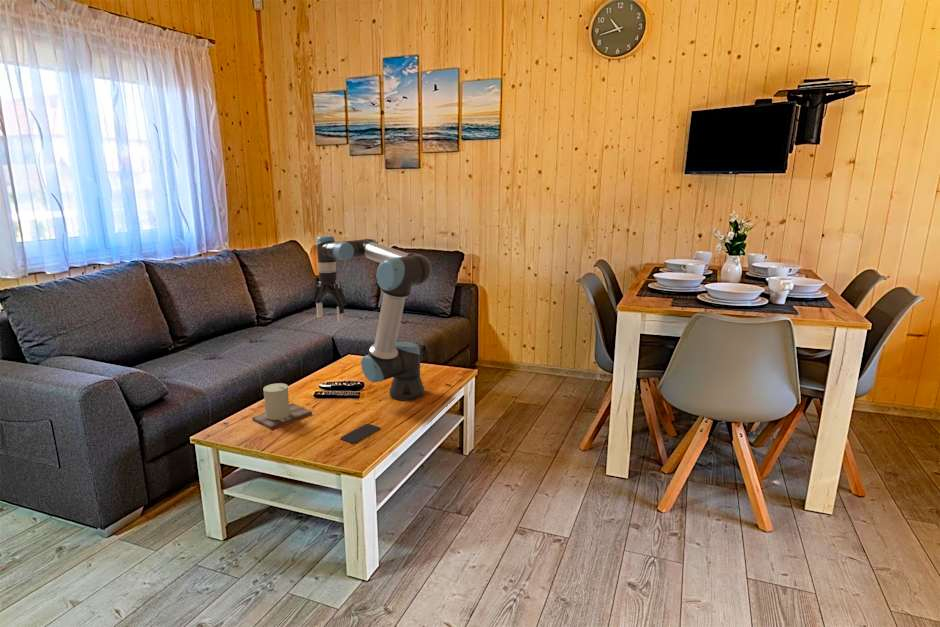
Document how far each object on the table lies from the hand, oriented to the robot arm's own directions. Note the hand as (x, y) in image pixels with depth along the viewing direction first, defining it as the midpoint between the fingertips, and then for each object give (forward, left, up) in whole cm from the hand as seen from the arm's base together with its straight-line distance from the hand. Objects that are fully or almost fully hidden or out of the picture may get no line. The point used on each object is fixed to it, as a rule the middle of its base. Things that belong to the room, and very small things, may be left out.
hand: (330, 319), depth 248 cm
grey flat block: (-15, +36, -30) cm, 49 cm away
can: (-15, +38, -29) cm, 50 cm away
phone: (-50, +26, -31) cm, 64 cm away
